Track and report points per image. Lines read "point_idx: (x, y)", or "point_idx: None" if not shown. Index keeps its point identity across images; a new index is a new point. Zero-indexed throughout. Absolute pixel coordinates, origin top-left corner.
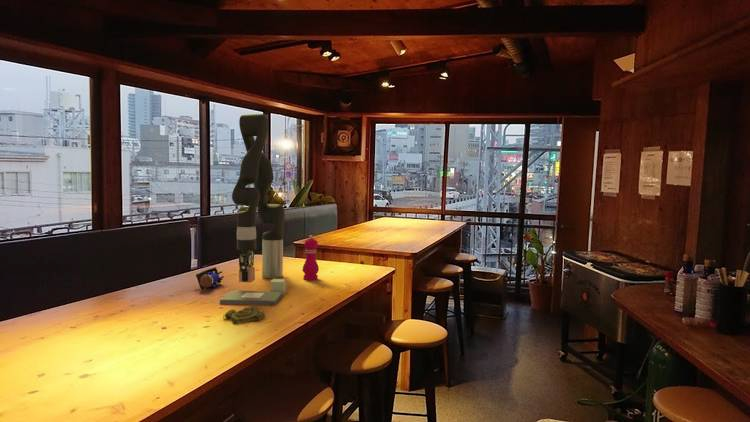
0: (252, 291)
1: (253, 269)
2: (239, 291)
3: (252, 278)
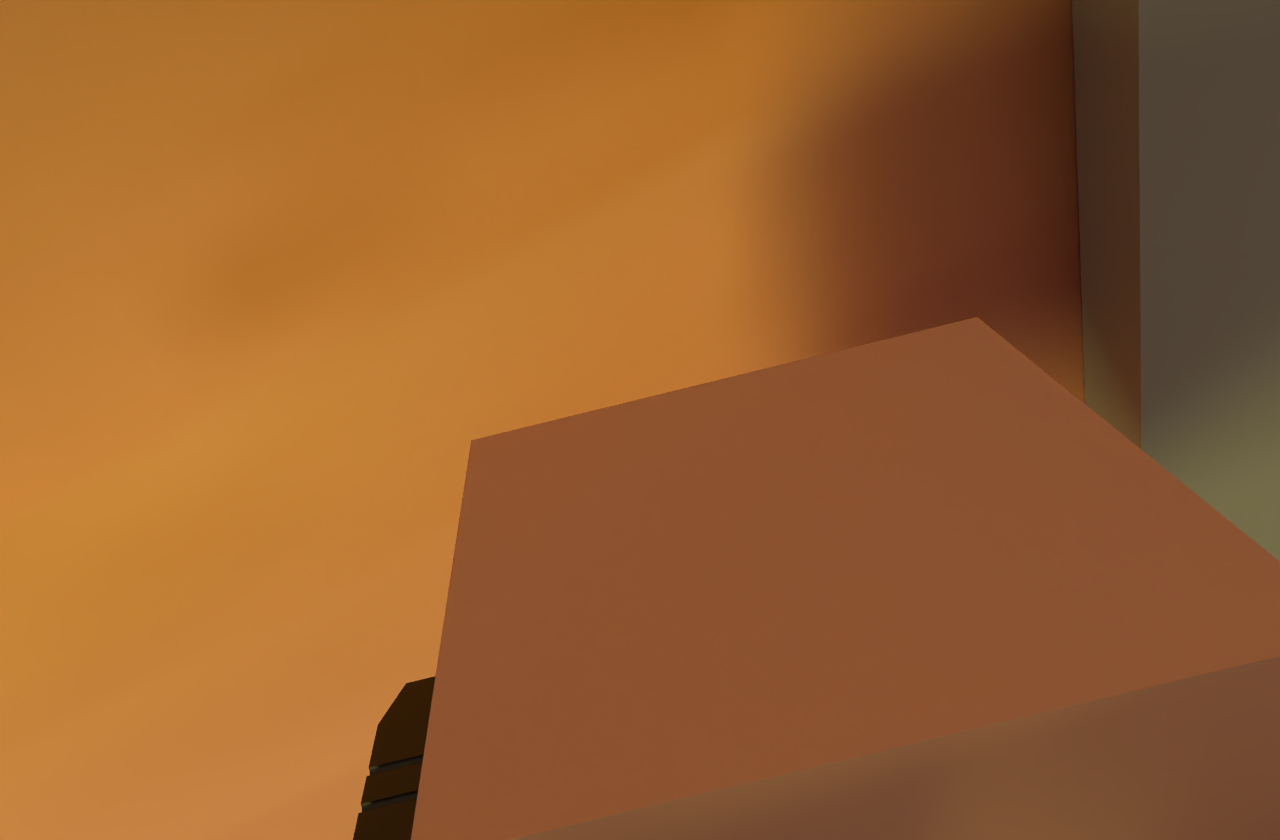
0: (1225, 41)
1: (747, 712)
2: (1260, 415)
3: (863, 404)
